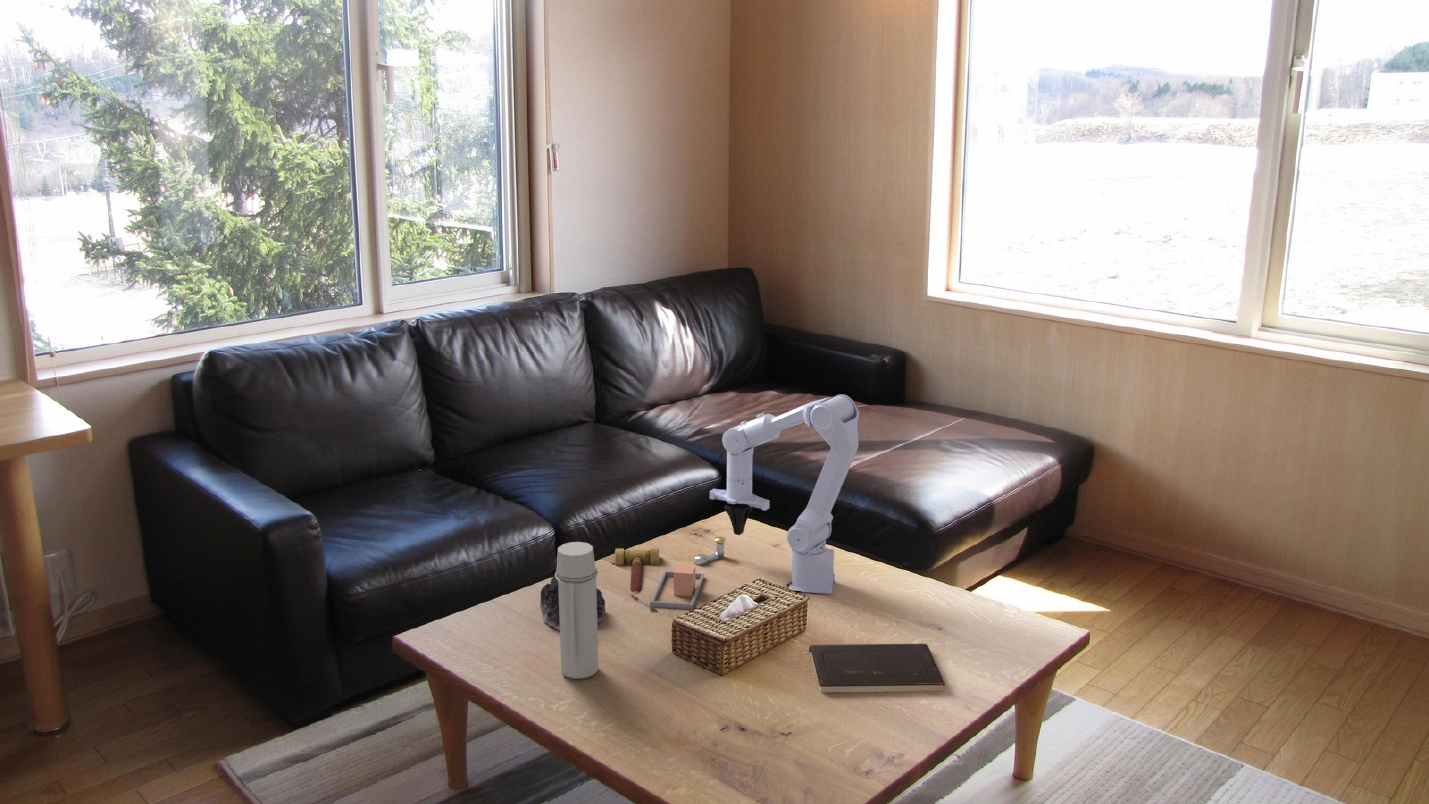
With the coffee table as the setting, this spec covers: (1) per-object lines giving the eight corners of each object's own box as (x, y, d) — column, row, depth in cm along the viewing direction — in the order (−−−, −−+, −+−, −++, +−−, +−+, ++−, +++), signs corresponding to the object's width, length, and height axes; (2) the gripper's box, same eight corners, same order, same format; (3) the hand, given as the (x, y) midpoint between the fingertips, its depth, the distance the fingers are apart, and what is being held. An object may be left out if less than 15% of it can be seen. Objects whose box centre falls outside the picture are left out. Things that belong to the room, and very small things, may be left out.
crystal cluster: (607, 634, 228) (610, 587, 226) (540, 633, 226) (542, 586, 224) (602, 610, 241) (605, 565, 239) (538, 609, 239) (541, 564, 237)
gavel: (659, 588, 241) (612, 589, 240) (659, 607, 242) (612, 608, 242) (658, 544, 260) (615, 545, 260) (659, 562, 262) (616, 563, 261)
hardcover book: (944, 694, 205) (945, 683, 205) (819, 696, 205) (819, 685, 204) (925, 652, 221) (926, 642, 220) (809, 653, 220) (809, 643, 219)
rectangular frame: (704, 582, 250) (704, 573, 250) (692, 614, 235) (692, 604, 235) (664, 580, 252) (664, 570, 251) (650, 611, 236) (650, 601, 236)
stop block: (695, 591, 245) (695, 566, 243) (692, 599, 241) (692, 573, 239) (677, 590, 245) (677, 565, 244) (673, 598, 242) (673, 572, 240)
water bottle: (564, 661, 216) (559, 539, 209) (604, 663, 215) (601, 541, 208) (552, 685, 207) (547, 559, 200) (594, 687, 206) (590, 561, 199)
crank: (699, 566, 256) (699, 547, 255) (691, 562, 258) (691, 543, 257) (728, 557, 261) (728, 539, 260) (720, 553, 263) (720, 535, 262)
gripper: (702, 476, 254) (702, 532, 257) (759, 488, 246) (758, 545, 250) (718, 467, 259) (718, 522, 263) (774, 479, 252) (773, 535, 256)
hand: (738, 533), depth 257 cm, fingers closed
